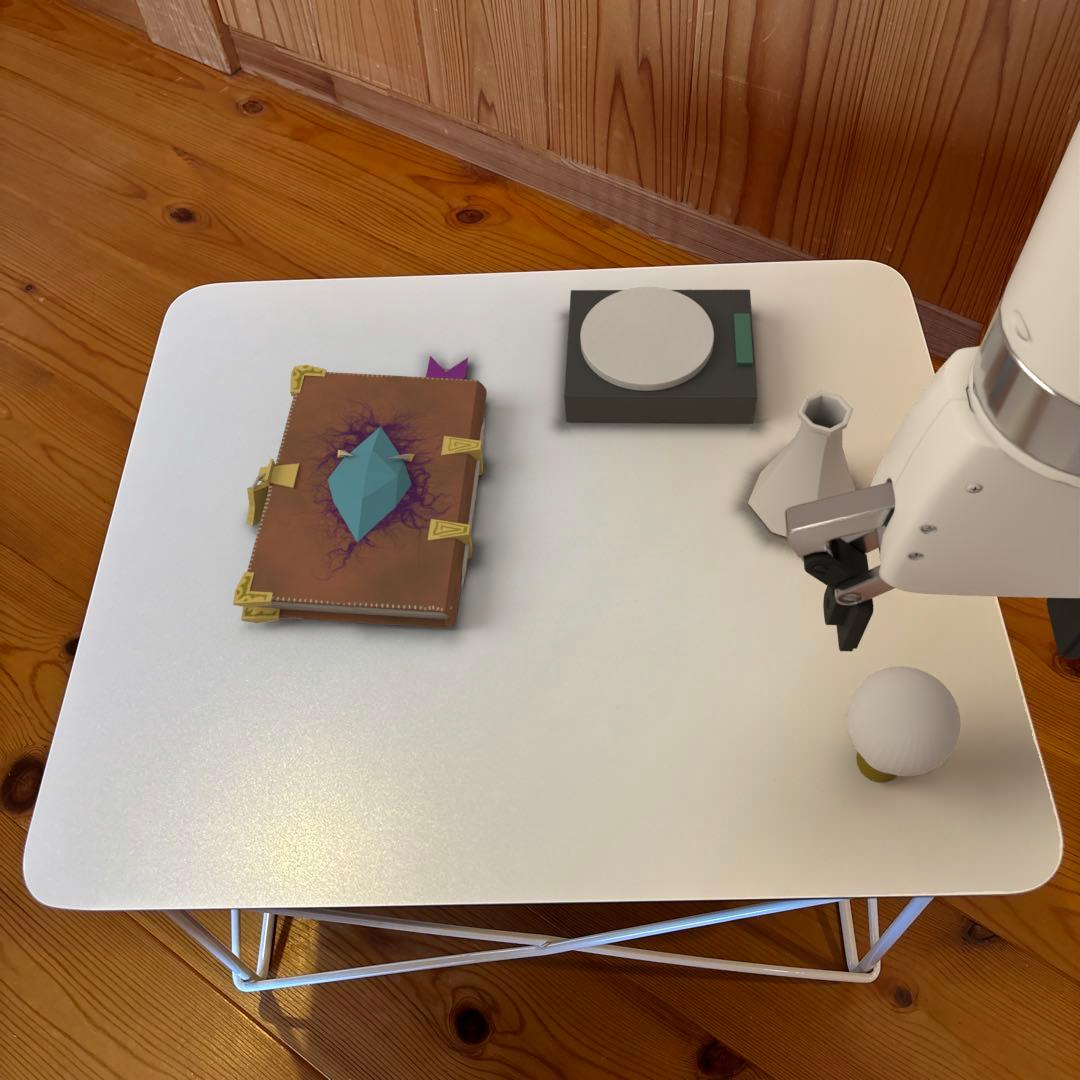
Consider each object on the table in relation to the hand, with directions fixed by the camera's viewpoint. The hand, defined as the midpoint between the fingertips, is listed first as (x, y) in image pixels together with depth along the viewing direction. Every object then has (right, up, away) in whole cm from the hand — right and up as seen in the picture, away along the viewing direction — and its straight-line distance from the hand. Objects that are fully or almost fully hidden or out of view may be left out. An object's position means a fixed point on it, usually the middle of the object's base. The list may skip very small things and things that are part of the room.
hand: (950, 626), depth 47 cm
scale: (-9, +17, +34) cm, 39 cm away
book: (-31, +8, +29) cm, 43 cm away
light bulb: (+2, -10, +15) cm, 18 cm away
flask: (0, +7, +26) cm, 27 cm away
